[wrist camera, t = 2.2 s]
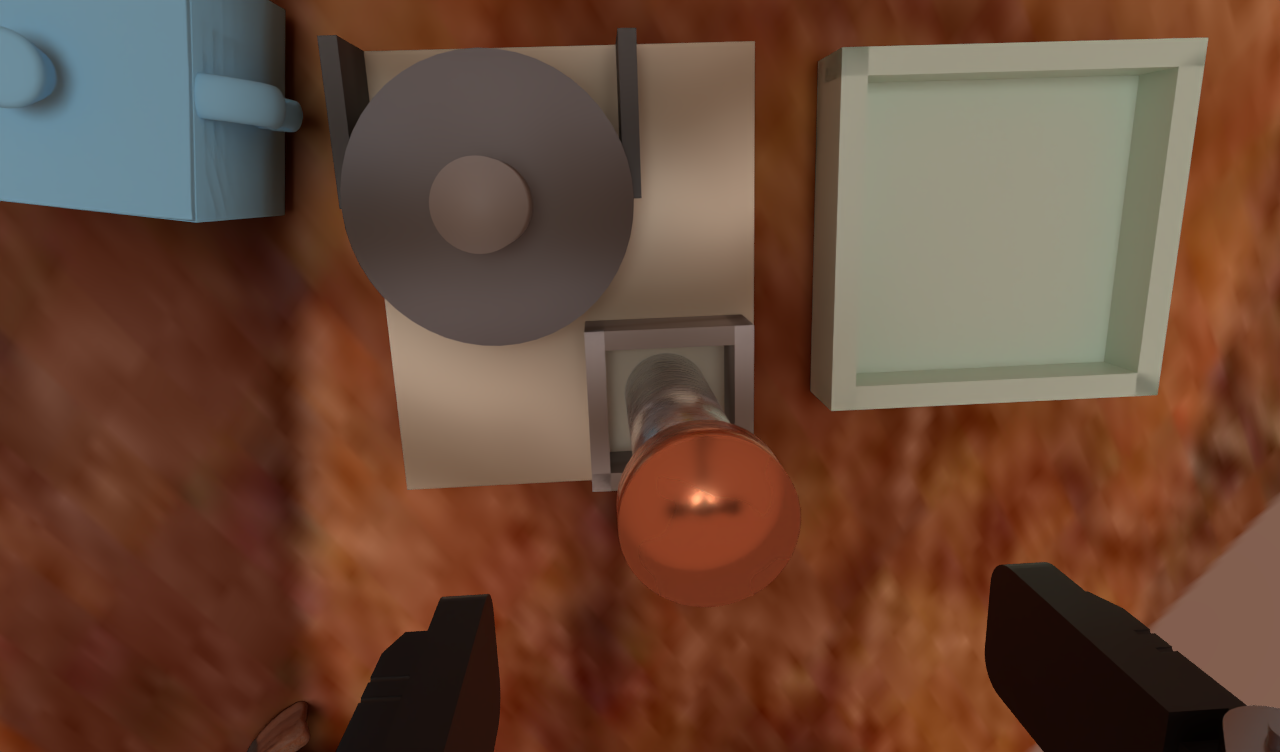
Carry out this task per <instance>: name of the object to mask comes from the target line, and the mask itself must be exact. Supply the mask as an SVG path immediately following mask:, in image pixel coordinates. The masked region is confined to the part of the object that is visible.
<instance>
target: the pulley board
mask: <svg viewBox="0 0 1280 752" xmlns="http://www.w3.org/2000/svg"><path fill="white" fill-rule="evenodd" d="M317 38H318V46H319V53H320V61H321V69H322V76H323V84H324V92H325V99H326V107H327V115H328V123H329V130H330V138H331V146H332V153H333V161H334V169H335V176H336V184H337V192H338V199H339V207H340V209H342V213H343V219H344V224H345V229H346V232H347V235H348V238H349V241H350V244H351V247H352V249H353V251H354V253H355V255H356V258H357V260H358V262H359V264H360V266H361V267H362V269H363V270H364V272H365V274H366V275H367V277H368V278H369V280H370V281H371V283H372V284H373V285H374V286H375V288H376V289H377V290H378V291H379V292H380V294H381V295H382V296H383V297H384V298H385V306H386V314H387V323H388V331H389V339H390V348H391V356H392V365H393V373H394V381H395V390H396V398H397V407H398V415H399V423H400V432H401V440H402V449H403V457H404V465H405V474H406V482H407V490H412V489H431V488H450V487H469V486H488V485H507V484H526V483H545V482H564V481H583V480H592V488H593V492H601V491H618V486H619V482H620V479H621V476H622V473H623V471H624V469H625V467H626V465H627V463H628V462H629V460H630V459H631V457H632V456H633V455H632V448H631V440H630V432H629V425H628V417H627V410H626V402H625V386H626V382H627V379H628V377H629V375H630V373H631V372H632V370H633V369H634V368H635V367H636V366H637V365H638V364H639V363H640V362H641V361H643V360H644V359H646V358H648V357H650V356H653V355H656V354H661V353H672V354H677V355H681V356H683V357H686V358H687V359H689V360H691V361H692V362H693V363H694V364H695V365H696V366H697V367H698V368H699V369H700V371H701V372H702V374H703V376H704V378H705V379H706V381H707V383H708V385H709V386H710V388H711V390H712V392H713V393H714V395H715V397H716V399H717V400H718V402H719V404H720V406H721V408H722V409H723V411H724V413H725V415H726V416H727V418H728V420H729V422H730V423H731V424H735V425H737V426H740V427H742V428H744V429H746V430H748V431H749V432H751V433H753V434H754V120H755V41H747V42H709V43H670V44H637V42H636V28H618V29H617V37H616V45H594V46H555V47H517V48H468V49H440V50H402V51H362V50H360V49H359V48H357V47H355V46H354V45H352V44H350V43H349V42H347V41H345V40H343V39H342V38H340V37H338V36H337V35H328V36H317Z"/></svg>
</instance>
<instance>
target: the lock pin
mask: <svg viewBox="0 0 1280 752" xmlns="http://www.w3.org/2000/svg"><path fill="white" fill-rule="evenodd" d="M625 402H626V410H627V417H628V425H629V432H630V440H631V448H632V455H633V456H632V457H631V459H630V460H629V462H628V463H627V465H626V467H625V469H624V471H623V473H622V476H621V479H620V482H619V486H618V492H617V520H618V533H619V541H620V545H621V549H622V552H623V555H624V557H625V559H626V562H627V563H628V565H629V567H630V568H631V570H632V572H633V573H634V574H635V575H636V576H637V578H638V579H639V580H640V581H641V582H642V583H643V584H644V585H645V586H646V587H648V588H649V589H650V590H652V591H653V592H655V593H656V594H658V595H660V596H662V597H663V598H665V599H668V600H670V601H673V602H676V603H679V604H683V605H687V606H695V607H715V606H723V605H727V604H731V603H735V602H738V601H740V600H743V599H746V598H748V597H750V596H752V595H754V594H755V593H757V592H759V591H760V590H762V589H763V588H765V587H766V586H767V585H768V584H769V583H771V582H772V581H773V580H774V579H775V578H776V577H777V576H778V575H779V574H780V572H781V571H782V570H783V569H784V567H785V566H786V564H787V563H788V561H789V560H790V558H791V556H792V554H793V552H794V550H795V547H796V544H797V542H798V537H799V533H800V525H801V510H800V504H799V499H798V496H797V493H796V490H795V487H794V485H793V483H792V481H791V479H790V478H789V476H788V475H787V473H786V472H785V470H784V469H783V467H782V466H781V464H780V463H779V461H778V460H777V458H776V457H775V455H774V454H773V452H772V451H771V450H770V448H769V447H768V446H767V445H766V444H765V443H764V442H763V441H762V440H761V439H759V438H758V437H757V436H756V435H754V434H753V433H751V432H749V431H748V430H746V429H744V428H742V427H740V426H737V425H735V424H731V423H730V422H729V420H728V418H727V416H726V415H725V413H724V411H723V409H722V408H721V406H720V404H719V402H718V400H717V399H716V397H715V395H714V393H713V392H712V390H711V388H710V386H709V385H708V383H707V381H706V379H705V378H704V376H703V374H702V372H701V371H700V369H699V368H698V367H697V366H696V365H695V364H694V363H693V362H692V361H691V360H689V359H687V358H686V357H683V356H681V355H677V354H672V353H661V354H656V355H653V356H650V357H648V358H646V359H644V360H643V361H641V362H640V363H639V364H638V365H637V366H636V367H635V368H634V369H633V370H632V372H631V373H630V375H629V377H628V379H627V382H626V386H625Z"/></svg>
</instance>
